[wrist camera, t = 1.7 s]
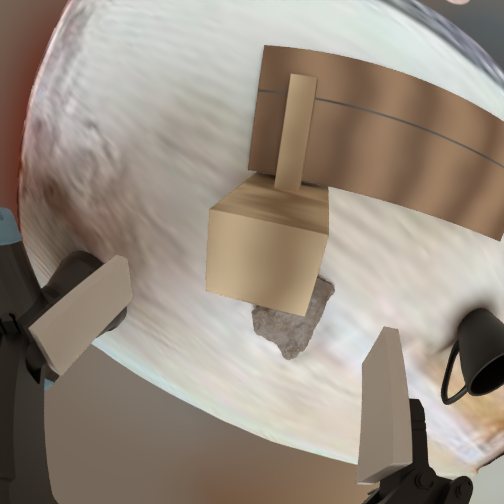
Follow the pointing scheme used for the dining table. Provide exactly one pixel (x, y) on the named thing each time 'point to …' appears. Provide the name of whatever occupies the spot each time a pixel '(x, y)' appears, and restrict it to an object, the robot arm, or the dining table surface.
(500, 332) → the mug
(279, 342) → the stone
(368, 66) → the board
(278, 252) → the beige block with bar
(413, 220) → the dining table surface
